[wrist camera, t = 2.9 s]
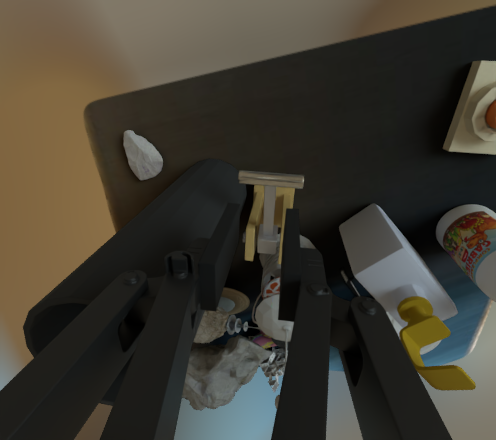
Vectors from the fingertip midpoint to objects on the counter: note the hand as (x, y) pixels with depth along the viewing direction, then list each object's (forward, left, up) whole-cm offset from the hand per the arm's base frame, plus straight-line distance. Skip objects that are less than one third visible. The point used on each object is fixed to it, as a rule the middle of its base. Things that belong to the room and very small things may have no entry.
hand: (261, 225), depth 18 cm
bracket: (+9, 0, -25) cm, 26 cm away
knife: (+23, +18, -25) cm, 38 cm away
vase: (+8, -9, -25) cm, 28 cm away
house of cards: (+41, +3, -25) cm, 48 cm away
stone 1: (+3, -20, -25) cm, 32 cm away
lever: (+4, 0, -13) cm, 13 cm away
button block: (-6, +25, -25) cm, 36 cm away
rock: (+30, -8, -13) cm, 34 cm away
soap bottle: (+14, +17, -25) cm, 33 cm away
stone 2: (+40, -6, -21) cm, 45 cm away
